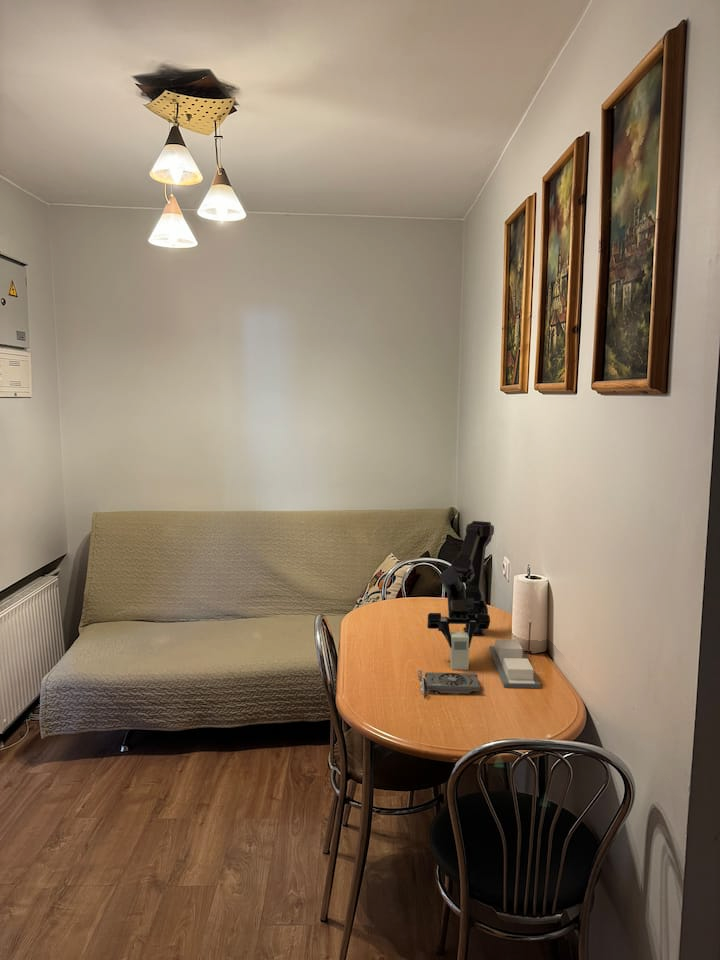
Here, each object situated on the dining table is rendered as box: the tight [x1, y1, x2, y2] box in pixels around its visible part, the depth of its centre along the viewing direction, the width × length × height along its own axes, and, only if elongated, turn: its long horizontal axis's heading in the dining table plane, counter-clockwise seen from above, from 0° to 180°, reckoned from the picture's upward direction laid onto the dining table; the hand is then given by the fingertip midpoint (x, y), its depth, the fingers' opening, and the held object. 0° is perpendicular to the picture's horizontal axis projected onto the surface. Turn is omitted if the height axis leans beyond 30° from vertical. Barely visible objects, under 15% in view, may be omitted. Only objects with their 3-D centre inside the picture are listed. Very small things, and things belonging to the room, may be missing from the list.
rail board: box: [488, 638, 541, 689], centre depth 188 cm, size 28×10×4 cm, turn 177°
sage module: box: [449, 631, 470, 671], centre depth 189 cm, size 5×5×10 cm
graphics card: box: [417, 669, 482, 696], centre depth 174 cm, size 17×4×12 cm
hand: (460, 647), depth 187 cm, fingers closed on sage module, 5 cm apart
